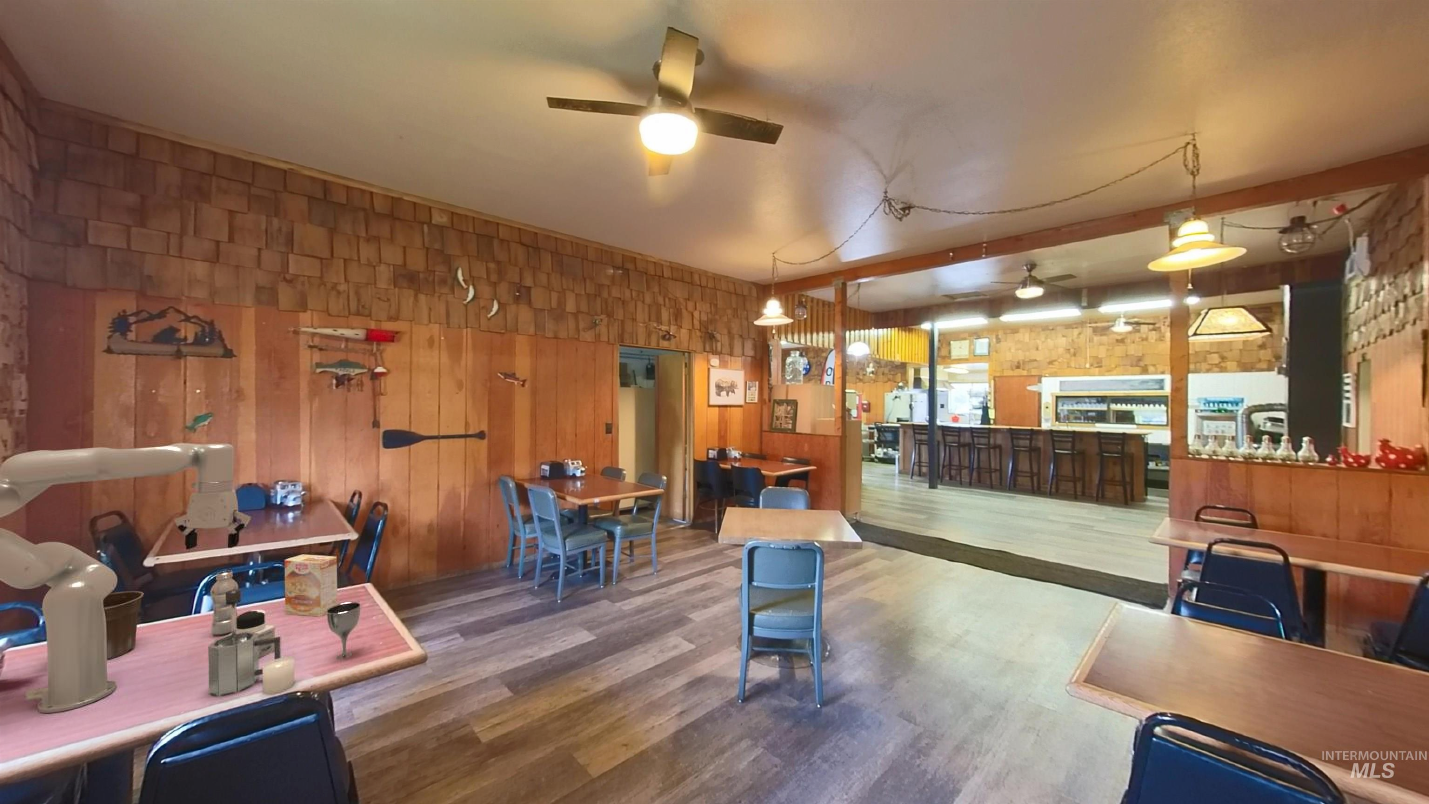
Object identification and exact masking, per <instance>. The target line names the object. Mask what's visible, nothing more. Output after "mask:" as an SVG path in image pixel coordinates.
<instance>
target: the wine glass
mask: <svg viewBox="0 0 1429 804" xmlns="http://www.w3.org/2000/svg"><path fill="white" fill-rule="evenodd" d="M360 614H361V603H360V602H356V601H355V602H354V601H350V602H349V601H348V602H343V603H339V604H337V605H335V606H333V607H331V608H329V609H328V610H327V614H326V616H327V617H326V618H327V619H326V620H327V623H328V627H329V629H330V631H331V632H332V633H333V634H335V635H337V636H338V637H339V639H340V640H341V646H342V653H341V654H339V655H338V656H336V659H337V660H343V659H347V658H349V657H351V656H352V655H353V653H352V652H347V641H348V637H349V636H350V634H351V632H353V630H354V629H355V628H356V626H357V625H358V623H359V620H360Z"/></svg>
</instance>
